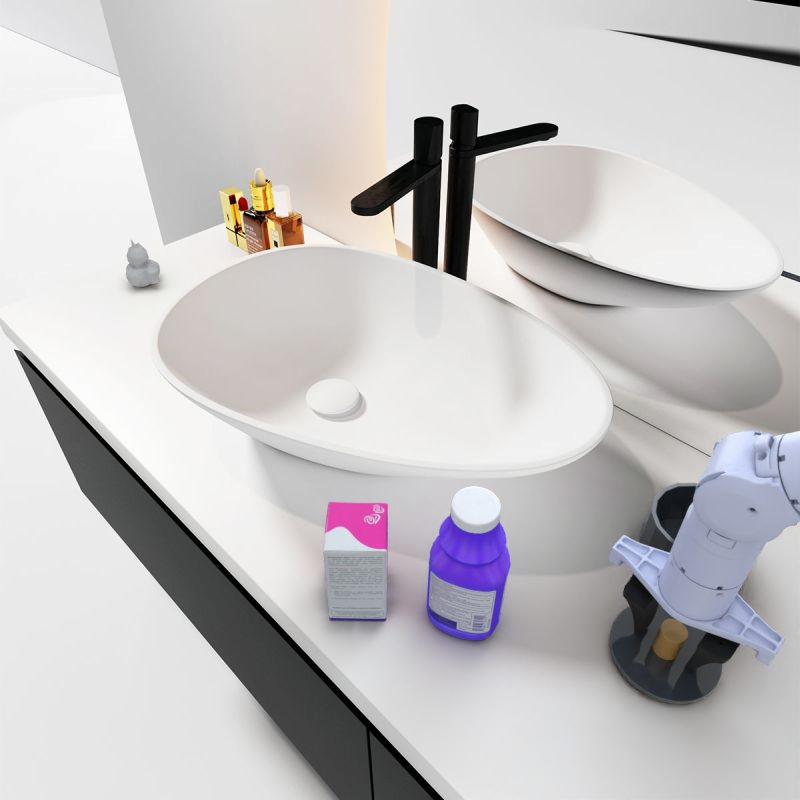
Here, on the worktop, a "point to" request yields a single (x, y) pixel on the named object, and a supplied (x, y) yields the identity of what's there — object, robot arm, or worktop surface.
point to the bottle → (469, 567)
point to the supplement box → (356, 561)
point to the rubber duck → (141, 267)
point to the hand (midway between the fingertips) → (666, 645)
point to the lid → (662, 658)
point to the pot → (667, 515)
